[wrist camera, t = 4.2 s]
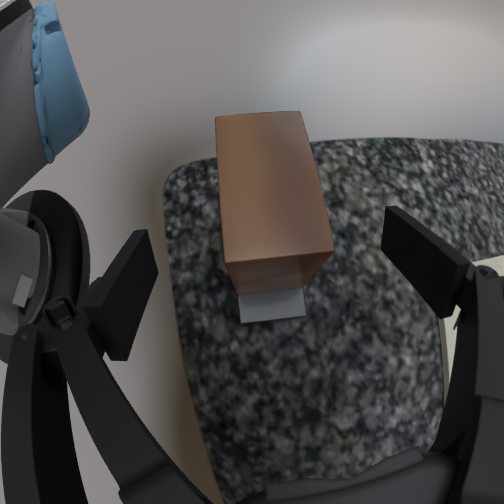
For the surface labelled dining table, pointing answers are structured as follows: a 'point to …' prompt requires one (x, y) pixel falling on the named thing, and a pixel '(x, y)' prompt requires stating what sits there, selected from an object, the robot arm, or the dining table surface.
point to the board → (448, 335)
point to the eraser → (270, 213)
